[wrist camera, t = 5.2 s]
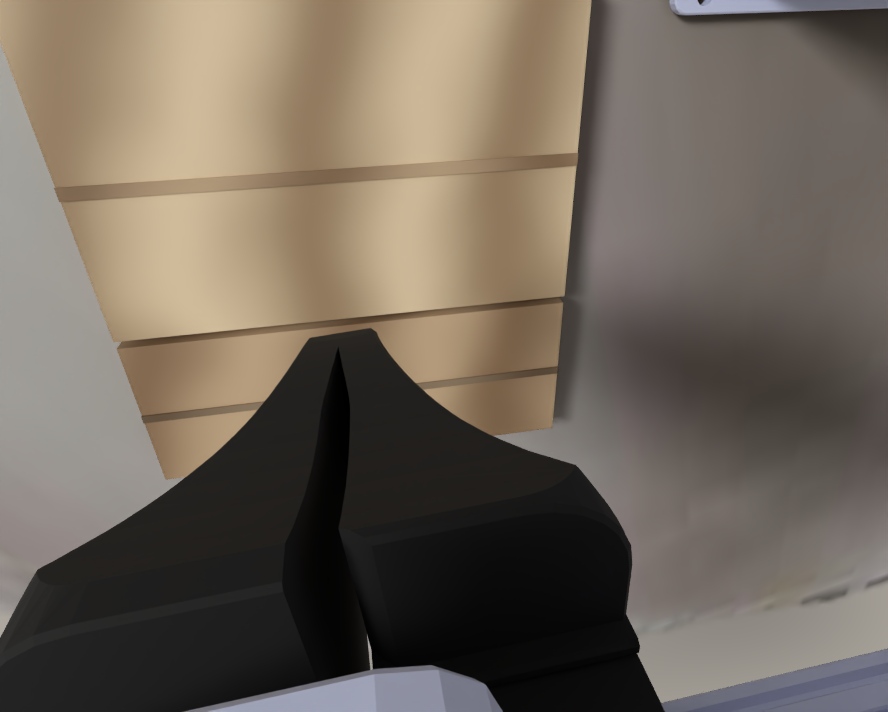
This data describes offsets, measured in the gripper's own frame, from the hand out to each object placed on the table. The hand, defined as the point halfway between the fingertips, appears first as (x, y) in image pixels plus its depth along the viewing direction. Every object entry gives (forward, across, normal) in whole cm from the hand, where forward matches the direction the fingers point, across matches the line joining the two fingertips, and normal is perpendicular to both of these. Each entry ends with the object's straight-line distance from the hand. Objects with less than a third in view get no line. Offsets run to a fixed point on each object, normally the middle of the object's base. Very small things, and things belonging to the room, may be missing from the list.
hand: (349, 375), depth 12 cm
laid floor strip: (+10, 0, +6) cm, 12 cm away
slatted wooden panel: (+10, 0, -2) cm, 10 cm away
